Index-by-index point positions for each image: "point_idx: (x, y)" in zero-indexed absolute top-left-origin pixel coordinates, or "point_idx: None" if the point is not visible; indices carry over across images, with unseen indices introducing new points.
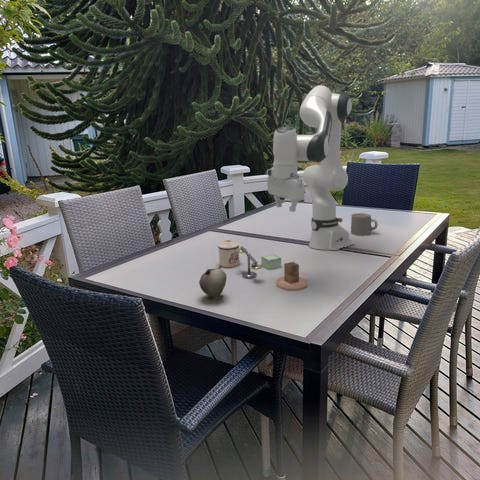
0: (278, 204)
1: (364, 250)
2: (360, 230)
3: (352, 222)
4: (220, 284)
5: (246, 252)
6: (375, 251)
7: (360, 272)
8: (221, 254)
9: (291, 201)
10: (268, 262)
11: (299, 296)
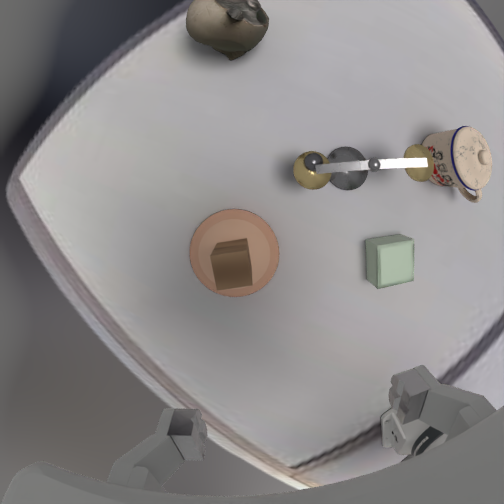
0: (403, 391)
1: (347, 452)
2: None
3: None
4: (186, 27)
5: (387, 161)
6: (331, 461)
7: (243, 414)
8: (450, 130)
9: (133, 475)
10: (375, 244)
11: (153, 237)
